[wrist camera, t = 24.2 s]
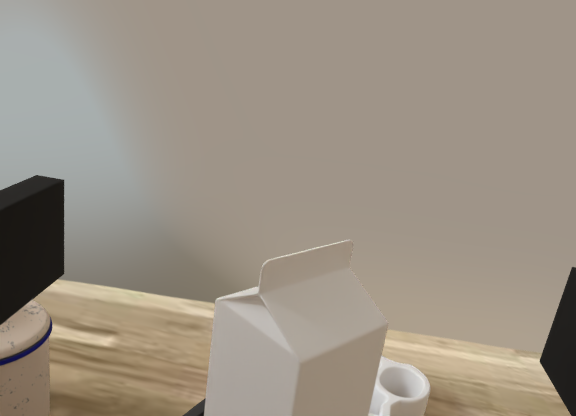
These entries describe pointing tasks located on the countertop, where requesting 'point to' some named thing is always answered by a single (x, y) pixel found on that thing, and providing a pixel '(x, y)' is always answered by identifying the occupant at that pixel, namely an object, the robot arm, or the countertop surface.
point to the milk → (297, 340)
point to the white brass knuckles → (399, 390)
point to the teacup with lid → (25, 362)
